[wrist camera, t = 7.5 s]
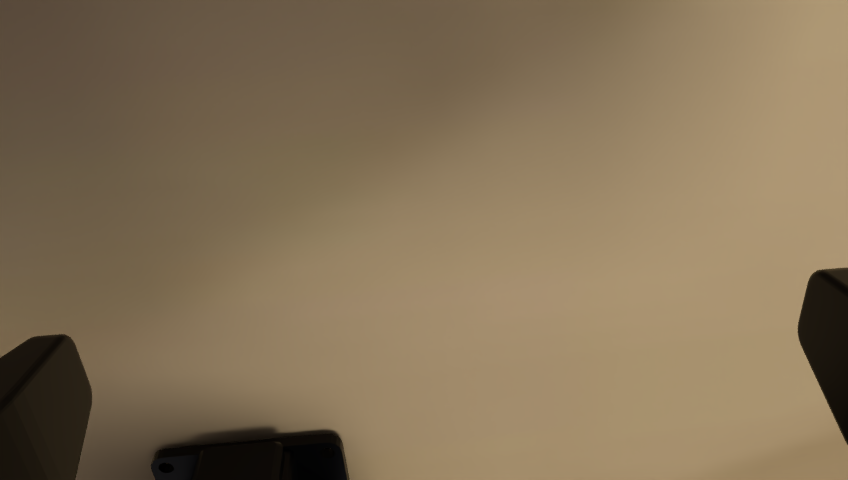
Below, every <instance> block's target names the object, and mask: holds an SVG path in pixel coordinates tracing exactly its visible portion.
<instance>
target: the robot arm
mask: <svg viewBox="0 0 848 480" xmlns="http://www.w3.org/2000/svg"><path fill="white" fill-rule="evenodd" d="M798 337H799V341H800V344H801V346H802V348H803V351H804V353H805V355H806V357H807V359H808V361H809V364H810V366H811V368H812V370H813V372H814V374H815V377H816V379H817V381H818V383H819V385H820V387H821V390H822V392H823V394H824V396H825V398H826V400H827V403H828V405H829V407H830V409H831V411H832V413H833V416H834V418H835V420H836V422H837V424H838V426H839V429H840V431H841V433H842V435H843V437H844V439H845V441H846V443H847V445H848V268H835V269H824V270H817V271H816V272H814V273H813V274H812V275H811V277H810V278H809V281H808V285H807V289H806V293H805V297H804V301H803V305H802V310H801V314H800V318H799V322H798ZM91 405H92V391H91V386H90V383H89V380H88V378H87V375H86V372H85V370H84V367H83V364H82V362H81V359H80V356H79V353H78V351H77V348H76V345H75V343H74V342H73V340H72V339H71V338H70V337H69V336H67V335H65V334H59V335H46V336H35V337H32V338H30V339H28V340H27V341H25V342H24V343H22V344H21V345H19V346H18V347H16V348H15V349H13V350H12V351H10V352H9V353H7V354H6V355H4V356H3V357H1V358H0V480H75V478H76V474H77V469H78V464H79V460H80V455H81V451H82V446H83V442H84V437H85V433H86V428H87V424H88V419H89V415H90V410H91ZM324 448H331V449H324ZM166 463H169V464H166ZM151 469H152V472H153V475H154V477H155V480H349V475H348V470H347V464H346V459H345V454H344V448H343V443H342V441H341V439H340V438H339V437H338V436H336V435H333V434H319V435H308V436H297V437H287V438H276V439H265V440H254V441H243V442H233V443H222V444H211V445H200V446H189V447H178V448H168V449H162V450H159V451H158V452H156V453H155V455H154V458H153V461H152V464H151Z"/></svg>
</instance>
